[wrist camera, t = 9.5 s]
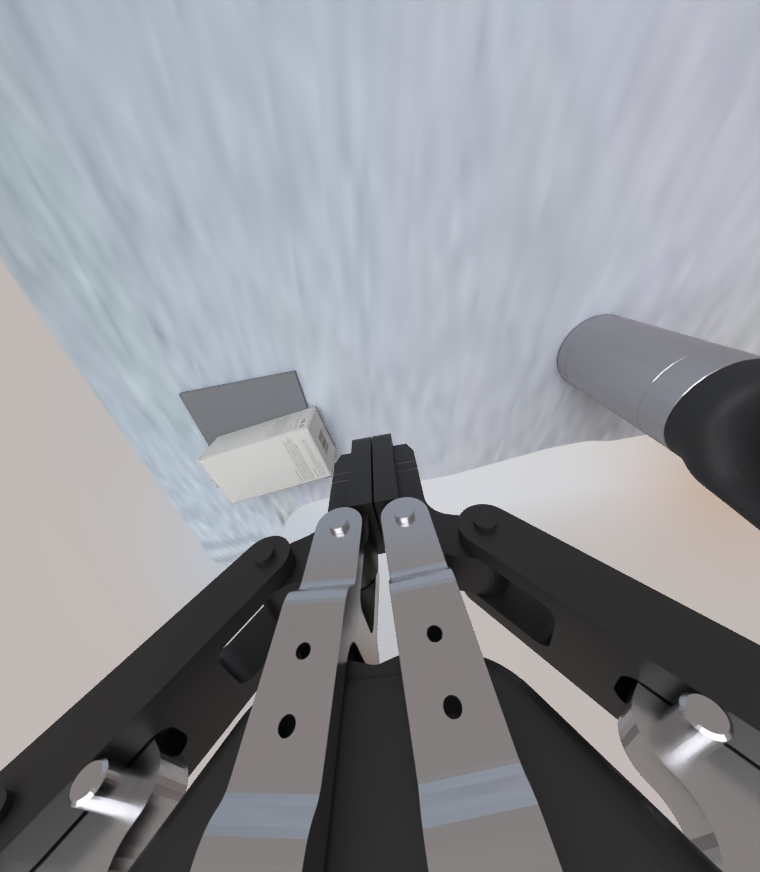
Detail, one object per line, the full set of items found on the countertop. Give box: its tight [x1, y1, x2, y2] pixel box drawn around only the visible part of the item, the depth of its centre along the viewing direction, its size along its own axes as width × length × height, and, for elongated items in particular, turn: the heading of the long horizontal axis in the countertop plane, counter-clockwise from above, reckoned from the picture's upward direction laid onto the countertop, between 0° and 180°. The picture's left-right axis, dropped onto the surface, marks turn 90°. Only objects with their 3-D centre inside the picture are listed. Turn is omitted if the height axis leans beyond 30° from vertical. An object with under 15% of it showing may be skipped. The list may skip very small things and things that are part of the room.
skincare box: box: [198, 407, 336, 504], centre depth 42 cm, size 8×7×16 cm
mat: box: [179, 371, 331, 478], centre depth 45 cm, size 16×18×1 cm
